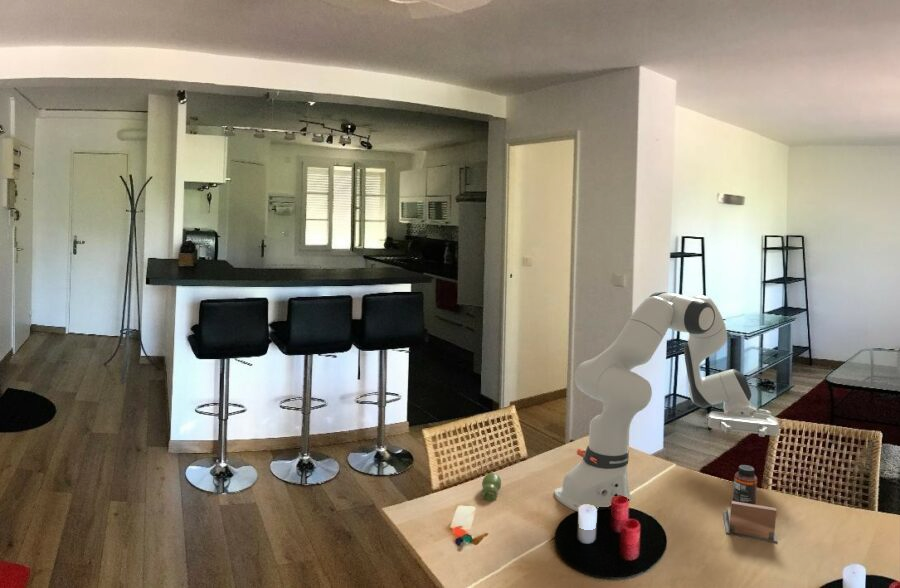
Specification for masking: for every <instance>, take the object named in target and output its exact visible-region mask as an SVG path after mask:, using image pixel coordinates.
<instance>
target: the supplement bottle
mask: <svg viewBox="0 0 900 588" xmlns="http://www.w3.org/2000/svg"><path fill="white" fill-rule="evenodd" d="M757 488H758V477H757V475H756V474H755V468H754V467H753V466H751V465H746V464H740V465H739V466H738V471H737V472H735V473H734V481H733V490H732V491H733V492H732V501H735V502H741V503H747V504H754V505H756V503H757V500H756V499H757Z"/></svg>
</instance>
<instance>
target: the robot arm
mask: <svg viewBox="0 0 900 588" xmlns="http://www.w3.org/2000/svg"><path fill="white" fill-rule="evenodd" d="M668 329H670V330H672V331H676V332H682V333H688V335H689V338H688V341H687V342H686V343H685V344H684V345H683V352H684V353H683V355H684V362H685V368H686V374H687V379H688V395H689V397H690V400H691V401H692V403H693V404H694V405H695V406H697V407H699V408H702V409H705V408H708V407H713V405H717V404H721V403H723V411H716V410H715V411H710V412H709V413H706V415H705V417H706V419H707V426H708V428H709V429H710V428H711V429H715V430H723V431H724V432H725V433H729V434H730V433H731V431H732V432H739V433H748V434H749V433H750V434H758V436H759V437H762V438H763V437H765V436H774V437H775V436H779V434H780V423H779V421H778V420H777V418H776V417H775V416H772V412H771V410H766V409H762V408H758V407H755V406H753V405H752V403H751V402H750V400H751V398H752V391H751V388H750V385H749V384H748V381H747V379H746V377H745V376H744V374H743V373H742V372H741V371H738V370H737V369H735V368H732V369H727V370H724V371H721V372H717V373H714V374H710V375H707V376H701V371H700V365H701V363H702V362H703V361H705V360H706V359H707V358H708V357H710V356H712V355H713V354H715V353H717V352H718V351H720V350H721V349H722V347H724V345H725V344H726V343H727V339H728V332H727V327H726V323H725V322H724V319H723V316H722V314H721V312H720V310H719V308H718V306H717V304H715V302H714V301H713V299H711V298H710V297H709V296H707V295H702V294H701V295H695V296H688V295H684V294H681V293H680V294H679V293H671V292H670V293H668V292H665V291H659V292H654V293H652V294H650V295H649V296H647V298H645V299H644V300H643V301H642V302H641V303H640V304H639V306H638V307H637V308H636V309H635V310H634V311H633V313H632V315H631V316H629V319H628V320H627V322H626V324H625V325H624V327H623V328H622V330H621V331H620V333H619V334H618V336H617V337H616V339H615V340H614V341H613V342H612V343H611V344H610V345H609V346H608V347H607V348H606V349H604V351H602V352H601V353H599V354H598V355H596V356H594V357H593V358H591V359H587V360H585V361H583V362H581V363H580V364H579V365H578V366H577V368H576V370H575V372H574V378H573V379H574V384H575V386H576V388H578V390H579V391H581V392H582V393H583V394H585V395H586V396H588V397H590V398H592V399H595V400H597V401H600V402H602V404H603V407H602V408H603V409H602V411H601V413H600V414H597V415H595V417H593V418H592V419H591V420H590V423H589V432H588V433H589V434H588V436H589V437H588V445H587V447H586V449H585V450H584V449H582V448H577V450H576V455H578V456H580V457H581V458H582V460H580V461H579V462H578V464H575V466H574V467H573V468H571V469H570V470H569V471H568V472H567V473H566V474H565V476H564V478H563V481H562V486H561V487H558V488H555V489H554V497H555V498H556V499H557V500H558V501H559V502H560V503H561V504H562V505H564V506H566V507H567V508H569V509H571V510H572V511H576V512H578V511H577V510H578V507H579V506H580V505H583V504H590V505H594V506H596V507H597V508H599V507H609V505H610V502H611V498H612V497H614V496H618V495H623V496H626V497H627V498H628V499H629V501H630V500H631V494H630V489H629V483H628V482H629V481H628V470H627V469H628V464H629V459H630V458H629V455H630V454H629V452H630V451H629V449H628V447H629V446H628V445H629V435H630V427H631V423H632V421H633V419H634V417H635V416H636V415H637V414H638V413H639V412H641V411H644V409H645V408H646V407H648V405H649V404H650V402H651V399H652V397H653V392H652V386H651V384H650V381H648V380H647V379H646V378H645V377H643V376H642V375H639V374H638V373H636V372H634V371H631V370H633V369H634V368H636V367H640V366H642V365H644V364H646V363H648V362H649V361H651V359H652V357H653V356H654V355H655V353H656V351H657V349H658V347H659V346H660V344H661V343H662V341H663V339H664V337H665V335H666V334H667V331H668Z"/></svg>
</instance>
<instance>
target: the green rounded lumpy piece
mask: <svg viewBox="0 0 900 588" xmlns="http://www.w3.org/2000/svg"><path fill="white" fill-rule="evenodd" d="M501 479H502V478H501V477H500V475H498V474H497V473H495V472H490V473H488V474H486V475H485V476H484V477H483V479H482V483H481V487H482V491H481V497H483V498H482V500H486V499H490V500H489V501H491V500H494V499H495V500H497V498H498V492H499V491H500V489H501V486H502V480H501ZM495 500H494V501H495Z"/></svg>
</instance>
